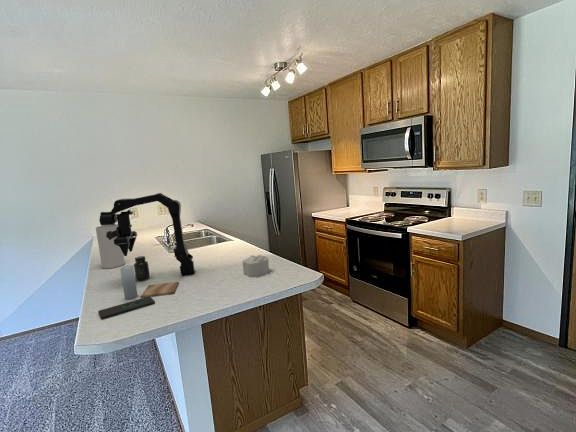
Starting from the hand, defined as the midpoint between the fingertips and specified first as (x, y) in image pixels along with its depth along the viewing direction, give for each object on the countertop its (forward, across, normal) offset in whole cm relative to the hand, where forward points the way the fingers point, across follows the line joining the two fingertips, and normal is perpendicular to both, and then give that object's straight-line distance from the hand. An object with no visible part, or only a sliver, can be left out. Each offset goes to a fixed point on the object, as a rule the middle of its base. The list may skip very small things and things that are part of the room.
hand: (128, 253), depth 166 cm
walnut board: (+14, +21, +18) cm, 31 cm away
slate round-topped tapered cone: (+14, +25, +6) cm, 29 cm away
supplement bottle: (+15, 0, +5) cm, 16 cm away
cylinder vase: (+15, -37, -20) cm, 44 cm away
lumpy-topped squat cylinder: (+14, +14, +64) cm, 67 cm away
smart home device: (+15, +38, +8) cm, 42 cm away
